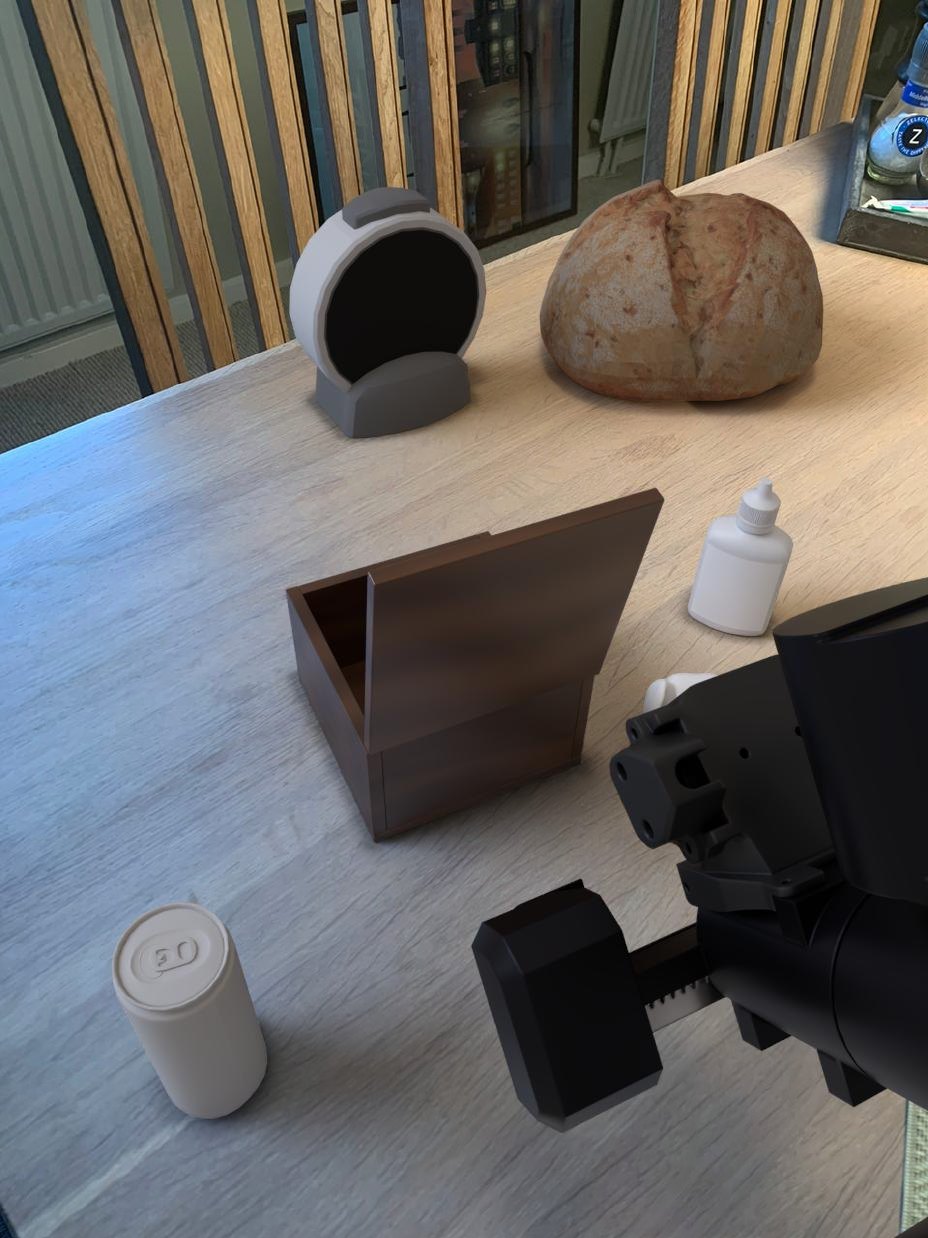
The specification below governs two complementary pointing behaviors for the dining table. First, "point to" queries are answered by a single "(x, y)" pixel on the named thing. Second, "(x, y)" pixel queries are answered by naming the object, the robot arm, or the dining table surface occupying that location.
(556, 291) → the bread
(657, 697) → the elephant figurine
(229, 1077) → the beverage can
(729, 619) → the eye dropper bottle
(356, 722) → the box
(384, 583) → the lid
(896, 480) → the dining table surface
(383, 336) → the alarm clock
